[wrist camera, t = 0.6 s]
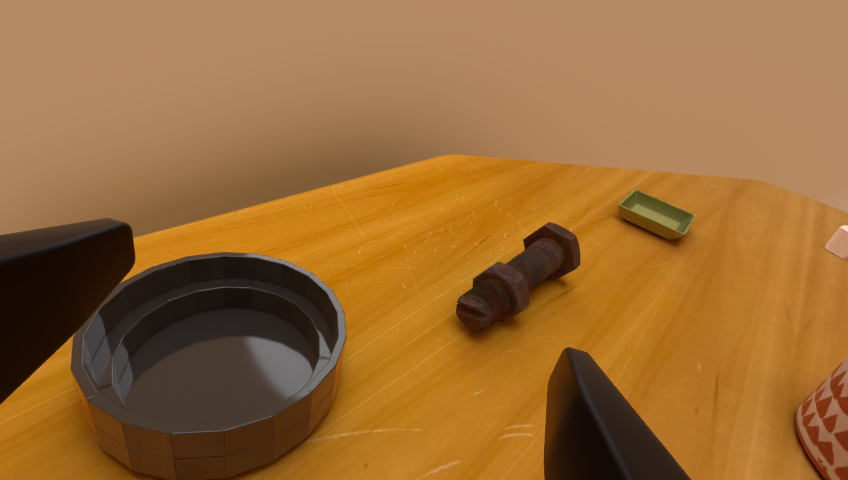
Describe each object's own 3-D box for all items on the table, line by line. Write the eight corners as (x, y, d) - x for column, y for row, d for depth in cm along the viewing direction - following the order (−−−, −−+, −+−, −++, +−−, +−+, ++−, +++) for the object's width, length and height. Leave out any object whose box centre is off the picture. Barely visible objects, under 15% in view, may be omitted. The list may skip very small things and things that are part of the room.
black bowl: (294, 515, 23) (299, 464, 20) (19, 451, 23) (-9, 392, 20) (360, 326, 34) (368, 279, 32) (180, 283, 34) (175, 234, 32)
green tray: (689, 227, 63) (697, 215, 62) (677, 248, 57) (685, 234, 56) (628, 201, 67) (635, 188, 66) (611, 218, 61) (617, 204, 60)
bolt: (451, 344, 37) (536, 274, 48) (504, 354, 34) (583, 277, 44) (436, 278, 36) (528, 221, 46) (490, 283, 32) (575, 220, 43)
